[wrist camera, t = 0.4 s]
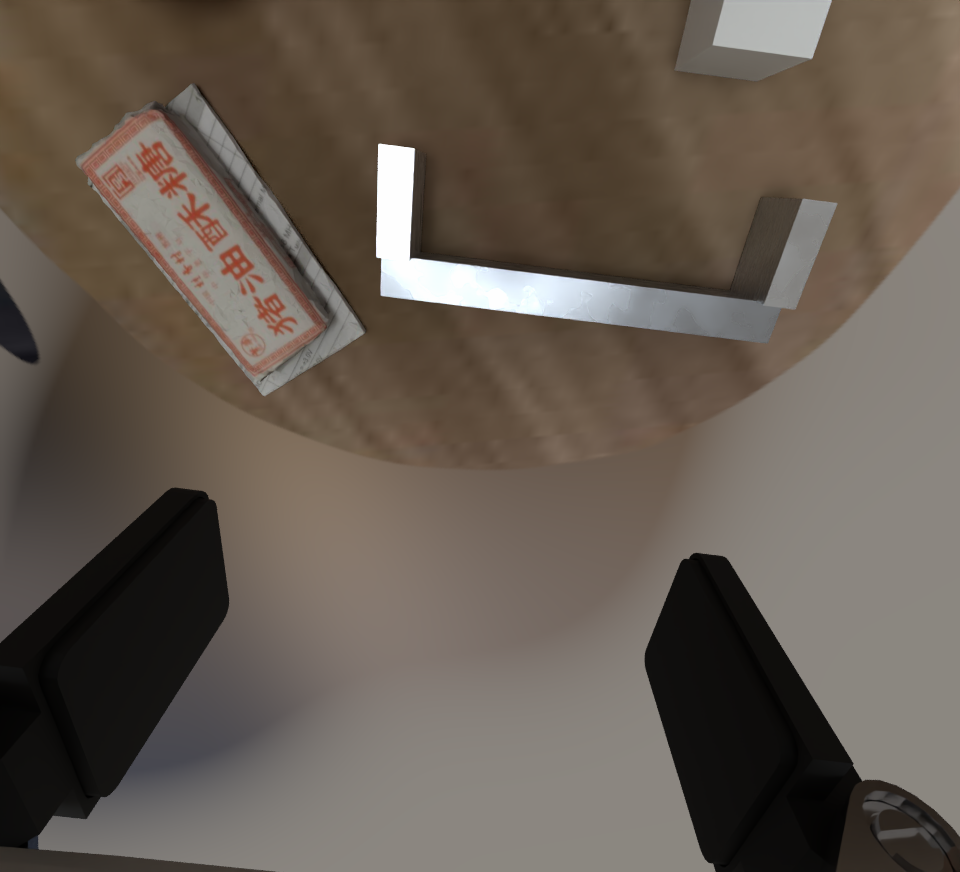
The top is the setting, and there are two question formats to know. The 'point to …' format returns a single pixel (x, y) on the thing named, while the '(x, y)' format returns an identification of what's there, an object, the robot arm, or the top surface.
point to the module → (749, 36)
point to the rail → (595, 297)
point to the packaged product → (221, 238)
